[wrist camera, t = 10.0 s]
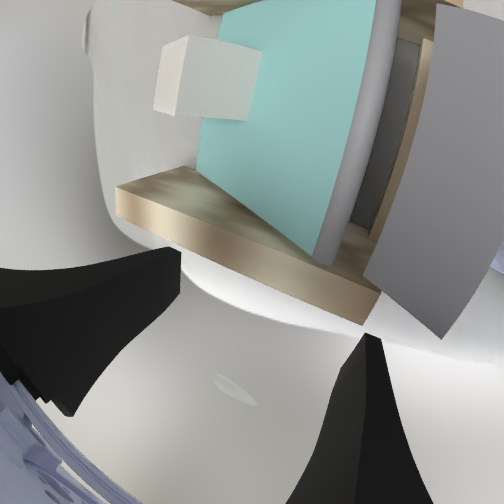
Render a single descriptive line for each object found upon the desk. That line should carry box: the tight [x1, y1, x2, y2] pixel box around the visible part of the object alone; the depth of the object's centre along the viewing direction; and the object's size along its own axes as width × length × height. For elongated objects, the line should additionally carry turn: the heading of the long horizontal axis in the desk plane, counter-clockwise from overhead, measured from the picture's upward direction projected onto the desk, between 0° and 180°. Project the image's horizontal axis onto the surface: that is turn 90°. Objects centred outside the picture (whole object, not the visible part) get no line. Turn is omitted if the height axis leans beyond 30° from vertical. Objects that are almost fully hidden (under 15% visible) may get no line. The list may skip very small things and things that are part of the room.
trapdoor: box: [196, 0, 504, 340], centre depth 11 cm, size 18×12×4 cm, turn 80°
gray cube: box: [153, 35, 262, 121], centre depth 12 cm, size 4×4×4 cm
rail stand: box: [115, 0, 463, 325], centre depth 12 cm, size 17×17×7 cm
